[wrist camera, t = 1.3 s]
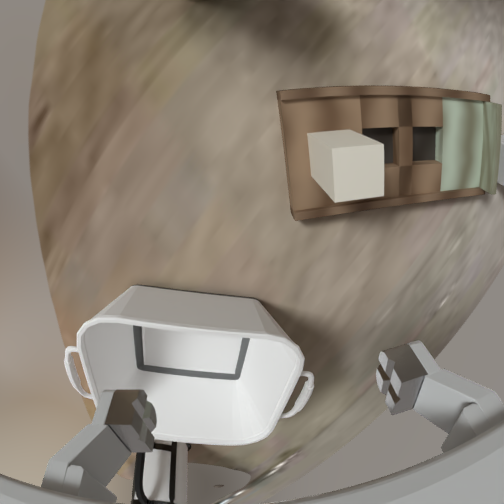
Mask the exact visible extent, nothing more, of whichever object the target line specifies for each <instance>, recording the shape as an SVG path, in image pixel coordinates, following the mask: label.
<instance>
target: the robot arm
mask: <svg viewBox="0 0 504 504" xmlns="http://www.w3.org/2000/svg"><path fill="white" fill-rule="evenodd" d="M379 361H380V363H381V364H380V365H379V366H378V367H377V372H376V378H377V384H378V387H379V389H380V391H381V393H383V394H385V395H387V397H386V401H385V402H386V404H387V406H388V408H389V410H390V412H391V415H394V414H398V413H401V412H404V411H407V410H410V409H413V410H414V411H416V412H417V413H419V414H420V415H421V416H423V417H424V418H426V419H427V420H429V421H430V422H432V423H433V424H435V425H436V426H438V427H439V428H441V429H442V430H444V431H445V432H447V433H448V434H449V435H448V436H447V438H446V440H445V441H444V443H443V444H442V447H441V449H442V451H443V453H442V454H440V455H438V456H435V457H434V458H431V459H429V460H426V461H424V462H421V463H419V464H417V465H414V466H412V467H409V468H406V469H404V470H401V471H398V472H396V473H393V474H390V475H387V476H384V477H381V478H378V479H375V480H372V481H368V482H365V483H362V484H358V485H355V486H351V487H347V488H344V489H340V490H336V491H332V492H327V493H323V494H318V495H313V496H308V497H303V498H298V499H292V500H286V501H279V502H272V503H264V504H504V404H503V402H502V401H501V399H500V398H499V396H498V395H497V393H496V392H495V391H493V390H491V389H488V388H486V387H484V386H482V385H480V384H478V383H475V382H473V381H471V380H469V379H467V378H464V377H462V376H460V375H458V374H455V373H453V372H451V371H449V370H447V369H442V370H441V368H440V367H439V366H438V364H437V363H436V362H435V360H434V358H433V357H432V356H431V354H430V353H429V351H428V350H427V349H426V347H425V346H424V344H423V343H422V342H421V341H420V340H417V341H414V342H411V343H407V344H404V345H400V346H397V347H394V348H390V349H387V350H384V351H381V352H380V354H379ZM156 424H157V417H156V411H155V408H154V406H153V404H152V403H150V402H149V401H147V394H146V393H145V391H144V390H141V389H134V390H104V391H103V392H102V393H101V396H100V399H99V402H98V405H97V408H96V412H95V415H94V418H93V421H92V424H88V425H87V426H86V427H85V428H84V429H82V430H81V431H80V432H79V433H78V434H77V435H76V436H75V437H74V438H73V439H71V440H70V441H69V442H68V443H67V444H66V445H65V446H64V447H63V448H62V449H61V450H59V451H58V452H57V453H56V454H55V455H54V456H53V457H52V458H51V459H50V460H49V462H48V465H47V469H46V472H45V475H44V478H43V482H42V485H41V487H39V486H35V485H32V484H29V483H26V482H22V481H19V480H16V479H13V478H11V477H8V476H5V475H2V474H0V504H123V503H116V500H117V497H116V496H115V494H114V493H112V492H111V491H109V490H108V489H107V488H106V486H107V485H108V483H109V482H110V481H111V479H112V478H113V477H114V476H115V474H116V473H117V472H118V470H119V469H120V468H121V467H122V465H123V464H124V463H125V461H126V460H127V459H128V457H129V456H130V455H131V452H153V445H154V438H155V437H154V436H153V434H152V433H151V432H152V431H153V430H154V429H155V428H156Z"/></svg>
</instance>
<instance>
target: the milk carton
mask: <svg viewBox="0 0 504 504" xmlns="http://www.w3.org/2000/svg"><path fill="white" fill-rule="evenodd" d="M497 183H499V184H501V185H503V186H504V135H501V146H500V160H499V171H498V180H497Z"/></svg>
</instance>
